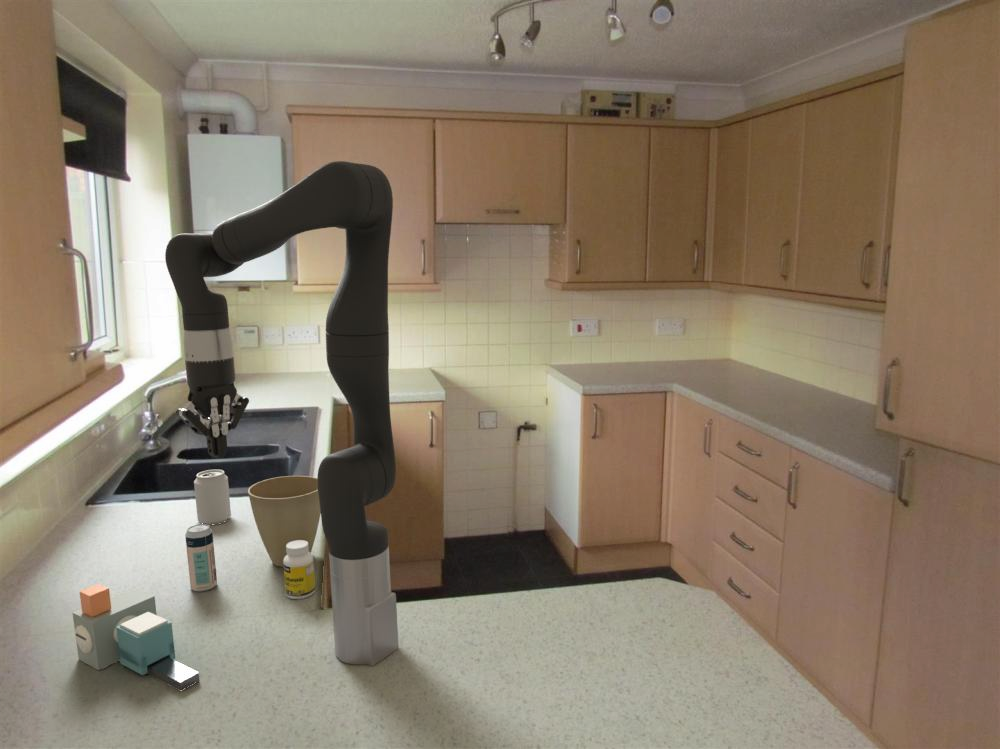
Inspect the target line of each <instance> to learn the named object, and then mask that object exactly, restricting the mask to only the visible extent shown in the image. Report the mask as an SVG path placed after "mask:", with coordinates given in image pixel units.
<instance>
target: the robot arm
mask: <svg viewBox="0 0 1000 749" xmlns="http://www.w3.org/2000/svg"><path fill="white" fill-rule="evenodd" d="M393 203H394V198H393V191H392V186H391V183H390V180H389V179H388V176H387V175H386V174H385V173H384V172H383V170H382V169H380V168H378V167H377V166H374V165H370V164H366V163H365V164H364V163H358V162H357V163H356V162H350V161H344V160H343V161H341V160H340V161H339V160H338V161H336V160H335V161H331V162H328V163H326V164H324V165H322V166H320V167H318V168H317V169H316V170H314V171H313V172H311V173H310V174H308V175H306V177H304V178H303V179H301V180H300V181H299V182H297V183H296V184H294V185H293V186H292V187H291V186H290V188H288V189H286V190H285V191H284V192H282V193H280V194H278V195H277V196H276V197H274V198H272V199H271V200H268V201H267V202H265V203H262V204H260V205H258V206H256V207H253V208H252V209H250V210H247V211H244V212H241V213H239V214H237V215H234V216H232V217H230V218H228V219H224V220H223V221H221V222H220V223H219V224H217V225H216V226H215V228H214V230H213V231H212V233H187V232H186V233H178V234H176V235H174V236H172V237H171V239H169V241H168V243H167V245H166V248H165V254H164V256H165V258H164V259H165V265H166V268H167V271H168V274H169V277H170V279H171V281H172V283H173V286H174V290H175V292H176V295H177V297H178V300H179V302H180V307H181V312H182V323H183V324H182V325H183V326H182V327H183V352H184V354H183V355H184V362H185V363H184V364H185V365H184V366H185V372H186V373H185V374H186V383H187V386H188V388H189V392H188V395H187V403H186V404H185V405H184V406H183V407H182V408H177V409H176V410H175V414H176V416H178V417H179V419H180V420H182V421H183V423H184V424H185V425H187V427H188V428H190V430H191V431H192V432H193V433H194V434H195V435H200V436H204V437H206V445H207V453H208V455H210V457H211V458H214V459H220V458H225V457H226V455H227V454H226V453H228V443H227V442H228V441H227V434H228V433H229V431H231V430H235V429H236V428H237V426H238V424H239V422H240V421H241V418H242V416H243V414H244V413H245V410H246V408H247V407H248V404H249V403H250V399H249V398H248V397H245V396H242V395H241V394H239V393H238V390H237V388H236V385H235V381H236V370H235V357H234V346H233V338H232V335H231V334H232V333H231V330H230V320H229V318H230V316H229V307H228V301H227V299H226V296H225V295H224V294H223V293H220V292H217V291H211V290H210V289H209V288H208V285H207V283H206V281H205V278H213V277H214V278H216V277H221V276H225V275H227V274H229V273H232V272H234V271H236V270H237V269H238V268H239V267H241V266H242V265H243V264H245V263H248V262H251V261H253V260H256V259H258V258H261V257H264V256H266V255H268V254H271V253H273V252H275V251H276V250H278V249H280V248H281V247H283V246H284V245H285V244H286V243H287V242H288V241H289V240H290V239H291V238H293V237H295V236H297V235H299V234H302V233H305V232H309V231H315V230H321V229H328V228H337V229H339V230H340V229H341V230H342V229H343V230H345V258H344V259H345V261H344V267H343V270H342V273H341V276H340V279H339V282H338V284H337V287H336V289H335V291H334V293H333V296H332V298H331V302H330V304H329V306H328V310H327V314H326V320H325V349H326V350H325V352H326V362H327V367H328V370H329V373H330V374H331V377H332V378H333V380H334V382H335V384H336V385H337V387H338V389H339V390H340V392H341V394H342V395H343V396H344V398H345V400H346V401H347V403H348V405H349V408H350V411H351V415H352V421H353V445H352V446H351V447H348V448H345V449H342V450H339V451H336V452H334V453H331V454H328V455H326V456H325V457H324V458H322V460H321V461H320V464H319V466H318V470H317V477H316V478H317V485H318V495H319V503H320V511H321V514H320V519H321V520H320V521H321V525H322V530H323V534H324V537H325V539H326V543H327V547H328V557H329V559H328V560H329V573H330V574H329V577H330V594H331V607H332V620H333V622H332V624H333V636H334V637H333V638H334V651H335V656H336V658H337V659H338V660H340V661H341V662H343V663H346V664H350V665H369V666H371V667H373V666H375V665H376V664H378V663H379V662H380V661H383V659H385V658H386V657H388V656H389V655H390V654H392V653H394V652H395V651H397V650H398V649H399V632H398V631H399V629H398V614H397V613H398V610H397V608H398V607H397V595H396V592H392V589H391V587H392V586H391V569H390V546H389V533H388V529H387V527H385V526H384V524H381V523H379V522H376V521H373V520H367V517H366V511H365V509H366V508H365V507H366V506H368V505H371V504H373V503H376V502H378V501H380V500H383V499H385V497H387V496H389V494H390V493H392V491H393V489H394V487H395V482H396V477H397V476H396V475H397V474H396V473H397V468H396V467H397V466H396V455H395V454H396V453H395V446H394V445H395V444H394V438H393V436H394V435H393V428H392V418H391V405H390V403H391V402H390V401H391V400H390V377H389V376H390V372H389V367H390V366H389V364H390V363H389V362H390V361H389V359H390V337H389V336H390V335H389V334H390V331H389V330H390V329H389V326H390V325H389V310H388V309H389V302H388V301H389V257H390V255H389V254H390V242H391V233H392V232H391V231H392V221H393V208H394V204H393ZM197 414H198V415H199V418H200V419H199V418H198V416H197Z"/></svg>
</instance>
